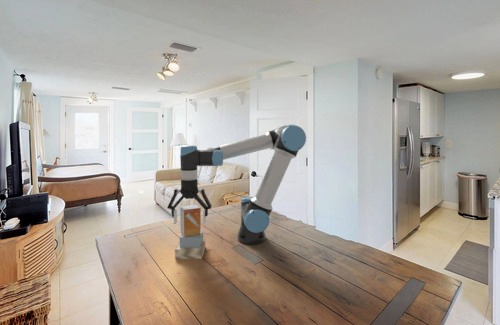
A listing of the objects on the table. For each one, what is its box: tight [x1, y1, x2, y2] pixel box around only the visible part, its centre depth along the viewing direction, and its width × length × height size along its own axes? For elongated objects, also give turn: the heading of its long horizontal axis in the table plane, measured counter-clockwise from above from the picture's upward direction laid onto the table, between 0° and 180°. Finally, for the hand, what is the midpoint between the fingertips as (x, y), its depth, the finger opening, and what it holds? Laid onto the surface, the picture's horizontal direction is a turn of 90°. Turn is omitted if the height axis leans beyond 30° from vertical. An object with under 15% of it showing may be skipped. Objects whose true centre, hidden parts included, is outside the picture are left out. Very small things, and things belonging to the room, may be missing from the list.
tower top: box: [179, 229, 204, 248], centre depth 122 cm, size 9×9×5 cm
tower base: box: [174, 238, 206, 260], centre depth 123 cm, size 12×12×5 cm
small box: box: [179, 204, 202, 237], centre depth 121 cm, size 8×6×13 cm
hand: (190, 222), depth 121 cm, fingers open, 13 cm apart
